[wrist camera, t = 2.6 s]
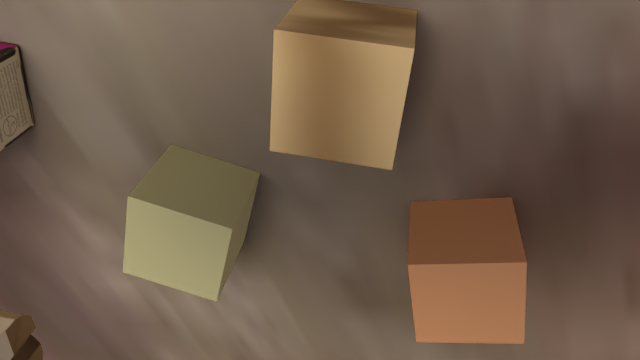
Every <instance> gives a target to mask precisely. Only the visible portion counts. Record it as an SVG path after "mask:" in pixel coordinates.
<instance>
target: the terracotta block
mask: <svg viewBox="0 0 640 360" xmlns="http://www.w3.org/2000/svg"><path fill="white" fill-rule="evenodd" d="M408 273H409V282H410V291H411V299H412V308H413V316H414V325H415V334H416V342H436V343H512V344H524V335H525V306H526V276H527V260H526V256H525V252H524V248H523V243H522V239H521V235H520V231H519V226H518V222H517V218H516V213H515V209H514V205H513V201H512V197H502V198H481V199H460V200H438V201H417V202H410V222H409V243H408Z"/></svg>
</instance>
